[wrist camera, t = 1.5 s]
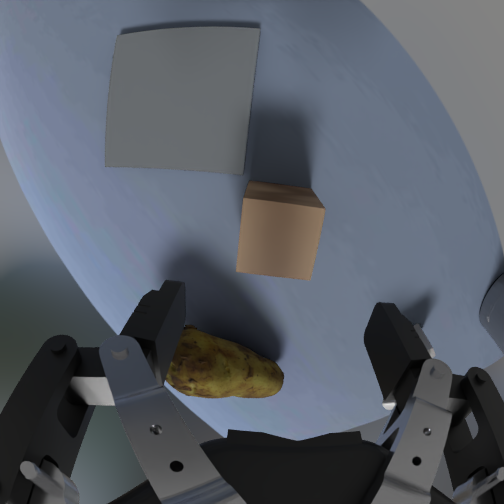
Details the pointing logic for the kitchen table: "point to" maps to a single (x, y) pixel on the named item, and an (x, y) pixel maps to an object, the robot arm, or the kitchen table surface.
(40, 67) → the kitchen table surface
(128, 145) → the coaster
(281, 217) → the block
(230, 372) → the potato
